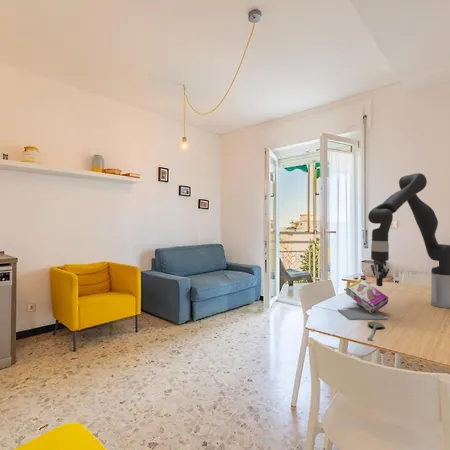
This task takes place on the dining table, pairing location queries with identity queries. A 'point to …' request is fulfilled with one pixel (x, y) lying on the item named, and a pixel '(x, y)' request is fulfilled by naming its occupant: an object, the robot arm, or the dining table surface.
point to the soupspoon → (375, 325)
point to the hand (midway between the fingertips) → (379, 285)
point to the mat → (362, 315)
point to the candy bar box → (367, 296)
